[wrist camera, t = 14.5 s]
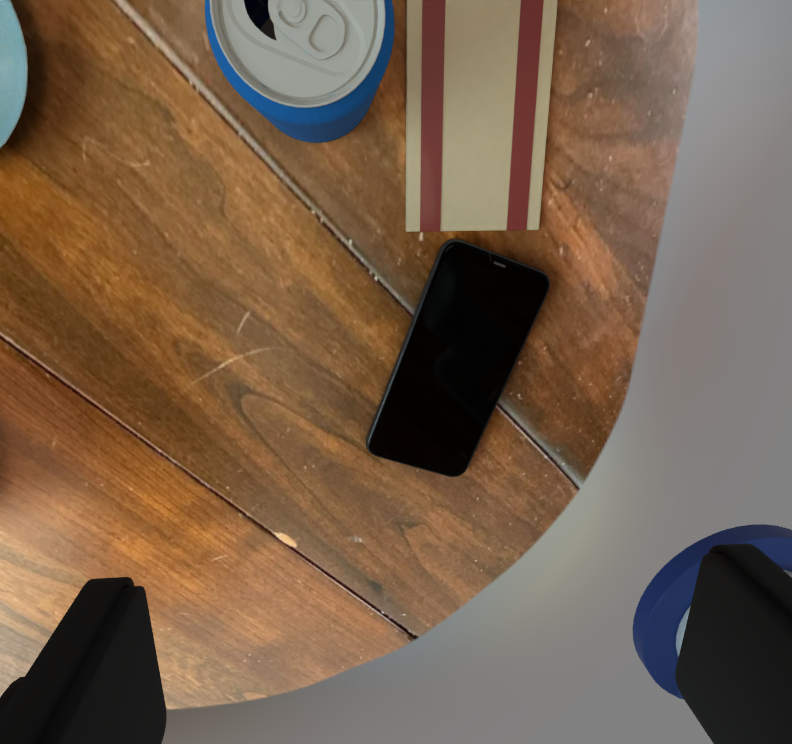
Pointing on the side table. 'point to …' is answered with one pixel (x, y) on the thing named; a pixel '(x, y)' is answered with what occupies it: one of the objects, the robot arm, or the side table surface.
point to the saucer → (11, 70)
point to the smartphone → (456, 358)
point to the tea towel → (477, 112)
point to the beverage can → (304, 59)
